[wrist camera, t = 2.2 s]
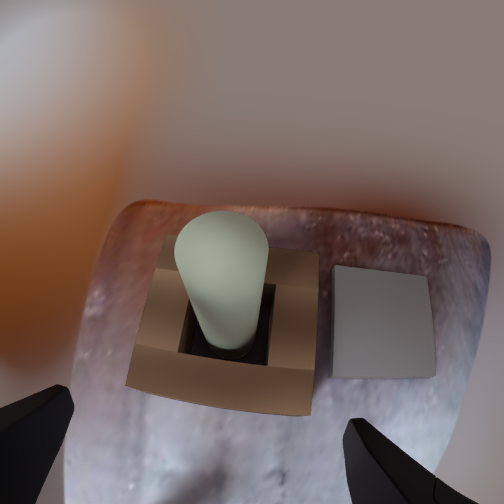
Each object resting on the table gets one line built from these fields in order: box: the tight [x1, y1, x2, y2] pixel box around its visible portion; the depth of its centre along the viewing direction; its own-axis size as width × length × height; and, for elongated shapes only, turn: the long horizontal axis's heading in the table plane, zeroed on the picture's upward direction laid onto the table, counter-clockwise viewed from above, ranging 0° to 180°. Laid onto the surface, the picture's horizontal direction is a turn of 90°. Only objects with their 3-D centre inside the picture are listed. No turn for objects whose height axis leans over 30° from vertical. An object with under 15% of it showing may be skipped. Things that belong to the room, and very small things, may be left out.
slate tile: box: [329, 265, 436, 379], centre depth 22 cm, size 9×9×1 cm
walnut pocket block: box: [125, 235, 319, 416], centre depth 20 cm, size 11×11×4 cm
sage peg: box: [174, 211, 269, 359], centre depth 17 cm, size 4×4×12 cm
